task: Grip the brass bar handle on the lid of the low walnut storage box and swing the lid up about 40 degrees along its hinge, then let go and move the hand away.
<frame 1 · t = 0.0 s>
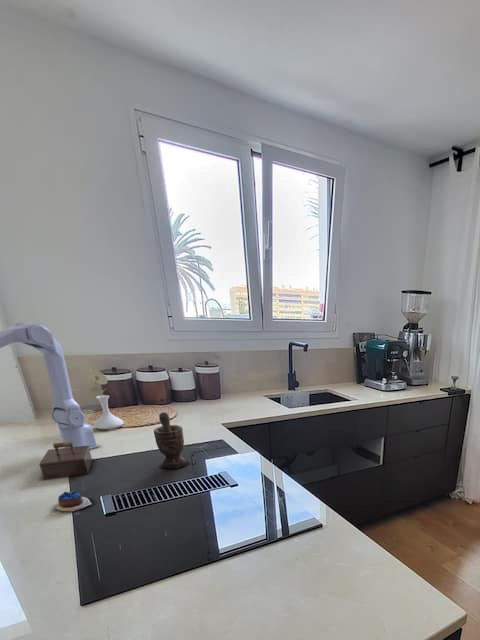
dessert: (74, 506, 106), on the counter
storage box: (69, 469, 129), on the counter
box lid: (64, 449, 126), point 7 cm above the counter, hinge at 0.0°
flower in vase: (108, 428, 173), on the counter
mortar and pestle: (176, 467, 133), on the counter
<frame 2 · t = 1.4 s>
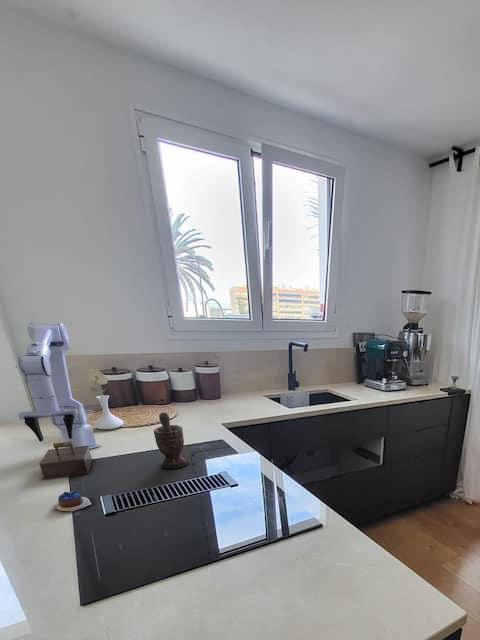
hand: (56, 439, 125), 10 cm above the counter, tool pointing down, fingers open, 7 cm apart
nothing on the counter moved.
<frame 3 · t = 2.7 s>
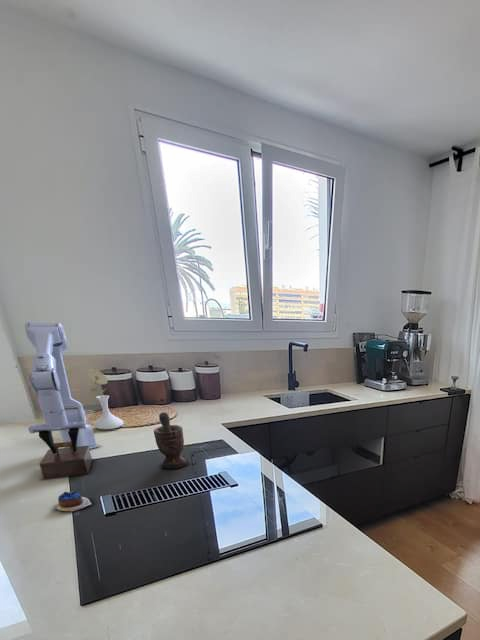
hand: (65, 451, 127), 6 cm above the counter, tool pointing down, fingers closed on box lid, 5 cm apart
box lid: (64, 449, 126), point 7 cm above the counter, hinge at 0.0°, touching gripper
everything else where it was.
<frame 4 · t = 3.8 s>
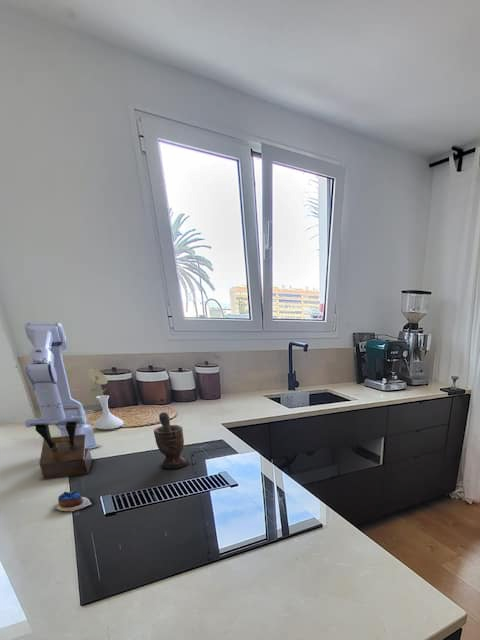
hand: (62, 446, 125), 8 cm above the counter, tool pointing down, fingers closed on box lid, 5 cm apart
box lid: (61, 444, 125), point 9 cm above the counter, hinge at 17.7°, touching gripper
everything else where it was.
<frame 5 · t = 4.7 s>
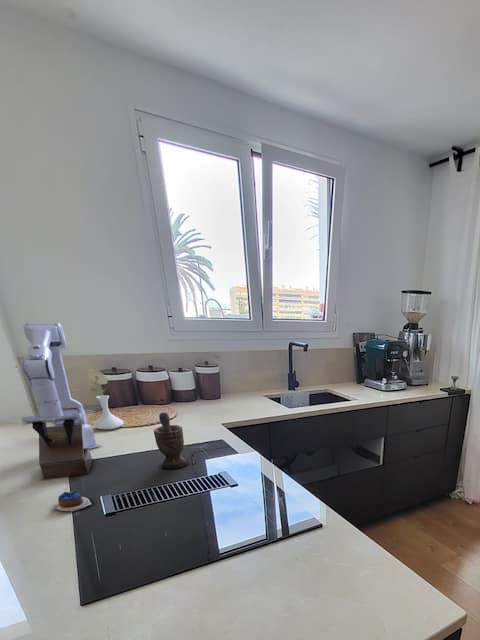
hand: (60, 444, 123), 9 cm above the counter, tool pointing down, fingers closed on box lid, 5 cm apart
box lid: (59, 440, 123), point 11 cm above the counter, hinge at 36.7°, touching gripper
everything else where it was.
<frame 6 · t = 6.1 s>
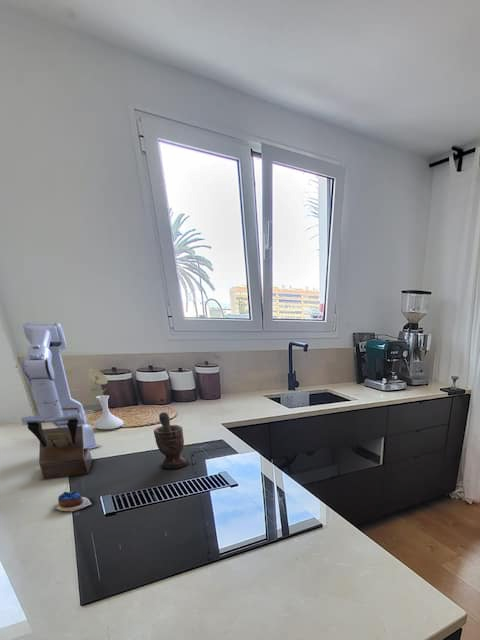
hand: (60, 444, 123), 9 cm above the counter, tool pointing down, fingers open, 7 cm apart
box lid: (60, 440, 123), point 10 cm above the counter, hinge at 32.8°
everything else where it was.
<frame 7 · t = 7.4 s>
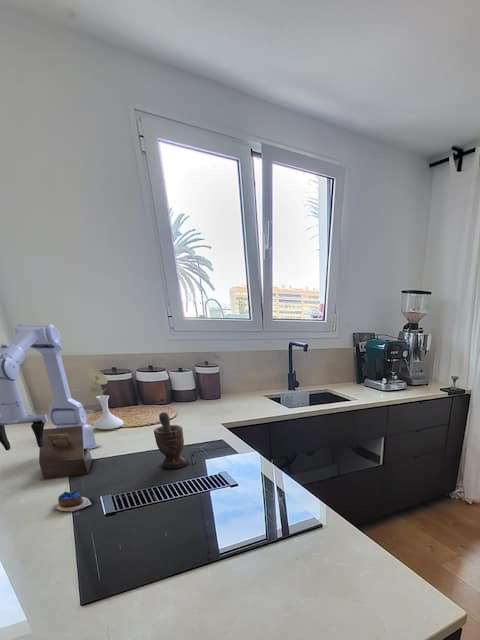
hand: (24, 447, 116), 10 cm above the counter, tool pointing down, fingers open, 7 cm apart
nothing on the counter moved.
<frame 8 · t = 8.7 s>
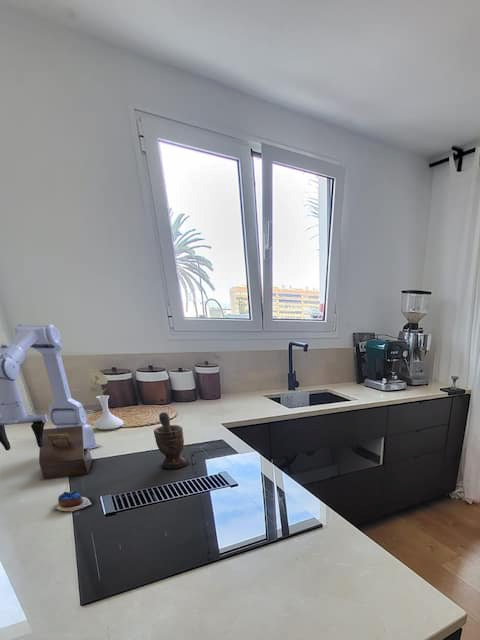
hand: (24, 447, 116), 10 cm above the counter, tool pointing down, fingers open, 7 cm apart
nothing on the counter moved.
at the end: box lid at +33° (first picture: +0°); the gripper is holding nothing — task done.
